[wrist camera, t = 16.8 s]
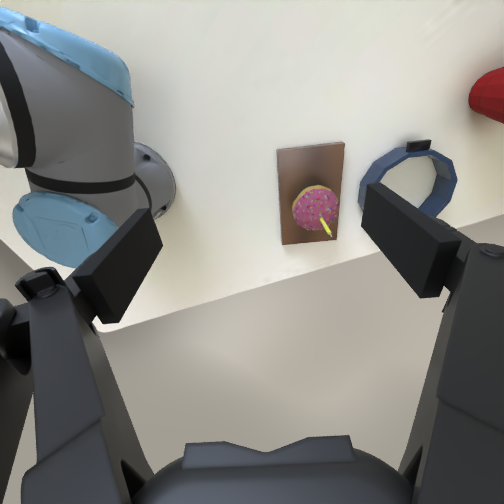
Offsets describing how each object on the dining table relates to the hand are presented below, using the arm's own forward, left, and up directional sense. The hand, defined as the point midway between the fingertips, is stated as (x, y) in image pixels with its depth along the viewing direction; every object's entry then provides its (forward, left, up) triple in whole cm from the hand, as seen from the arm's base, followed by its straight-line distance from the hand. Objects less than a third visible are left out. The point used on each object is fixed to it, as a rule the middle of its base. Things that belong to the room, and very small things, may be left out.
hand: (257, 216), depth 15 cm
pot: (+28, -13, -35) cm, 46 cm away
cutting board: (+10, -13, -35) cm, 38 cm away
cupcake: (+10, -13, -33) cm, 37 cm away
